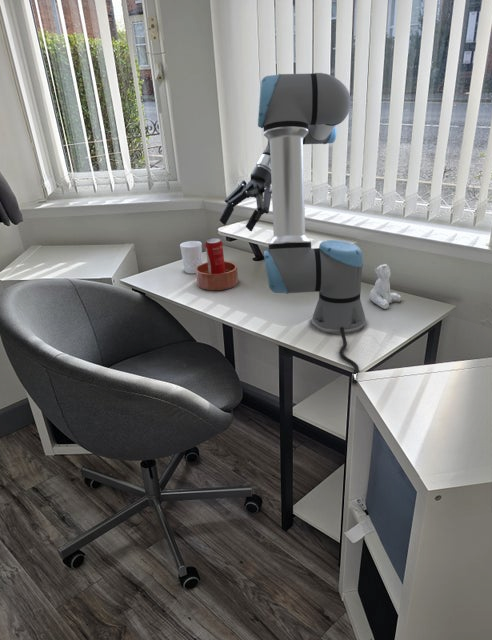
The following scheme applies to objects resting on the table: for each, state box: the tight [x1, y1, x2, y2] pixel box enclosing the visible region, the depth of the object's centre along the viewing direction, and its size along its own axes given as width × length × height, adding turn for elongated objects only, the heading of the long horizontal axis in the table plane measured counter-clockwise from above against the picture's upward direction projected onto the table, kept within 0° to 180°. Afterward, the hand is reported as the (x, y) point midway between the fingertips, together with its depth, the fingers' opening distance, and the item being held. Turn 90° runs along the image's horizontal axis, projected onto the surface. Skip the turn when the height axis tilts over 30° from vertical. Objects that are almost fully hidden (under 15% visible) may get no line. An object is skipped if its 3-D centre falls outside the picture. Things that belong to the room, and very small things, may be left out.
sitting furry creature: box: [369, 263, 402, 310], centre depth 166 cm, size 10×9×12 cm
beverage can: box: [204, 237, 225, 274], centre depth 185 cm, size 6×6×15 cm
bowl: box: [195, 260, 239, 292], centre depth 187 cm, size 14×14×6 cm
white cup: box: [179, 240, 204, 274], centre depth 199 cm, size 8×8×10 cm
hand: (235, 225), depth 185 cm, fingers open, 13 cm apart
